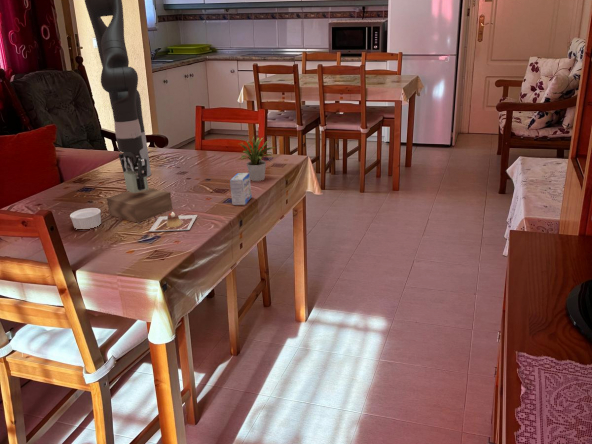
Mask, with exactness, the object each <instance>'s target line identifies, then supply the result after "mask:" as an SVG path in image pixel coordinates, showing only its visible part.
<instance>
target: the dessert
mask: <svg viewBox="0 0 592 444" xmlns="http://www.w3.org/2000/svg"><path fill="white" fill-rule="evenodd" d="M171 211H172V210H171ZM197 217H198V214H192V215H189V214H188V215H187V214H185V215H178V214H176V213H175V212H174V211H172V212H169V213H168V215H167V216H166V215H165V216H164V215H163V216H158V217H157V219H156V220H155V222H154V223H153V225H152V226H151V227H150V229H149V230H148V232H152V233H157V232H158V233H161V232H177V231H178V232H182V231H184V232H185V231H189V230H191V228H192V226H193V224H194V222H195V221H196V219H197ZM184 219H186V220H187V219H189V220H190V219H191V220H190V223H189V224H188V226H187V228H181V229H160V230H159V229H157V228H158V227H159V225H160V224H161V223H162V222H163V221H164V220H165V221H166V227H168V228H176V227H180V226H182V225H183V223H182V221H181V220H184Z"/></svg>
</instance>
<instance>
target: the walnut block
mask: <svg viewBox="0 0 592 444" xmlns="http://www.w3.org/2000/svg"><path fill="white" fill-rule="evenodd" d="M171 196H172V195H171V192H170V191H166V190H161V189H157V188H151V187H148V190H144V191H140V192H137V193H132V192H130V191H127V190H126V191H125V192H121V193H118V194H115V195H112V196H110V197H106V201H107V202H106V203H107V209H108V214H109V216H112V217H115V218H119V219H122V220H125V221H129V222H134V223H137V224H139V223H141V222H143V221H146V220H148V219H150V218H153V217H155V216H159V215H160V214H162V213H163V214H164V213H166V212H168V211H172V210H173V203H172V197H171Z"/></svg>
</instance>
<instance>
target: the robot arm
mask: <svg viewBox="0 0 592 444" xmlns="http://www.w3.org/2000/svg"><path fill="white" fill-rule="evenodd" d="M84 4H85V7H86V11H87V14H88V17H89V19H90V23H91V25H92V29H93V33H94V37H95V41H96V46H97V51H98V56H99V59H100V63H101V66H102V69H101V74H100V85H101V87H102V89H103V90H104V91H105V92H106V93H108V97H109V101H110V107H111V110H112V115H113V121H114V133H115V139H116V144H117V150H118V151H119V152H120V153H119V154H118V158H119V161H120V165H121V168H122V171H123V173H124V172H125V171H129V170H132V172H134V173H135V176H136V181H137V187H138V190H143V189H145V184H144V177H146V176H147V178H148V177H150V176H151V175H152V171H151V163H150V158H149V157H150V155H149V149H148V143H147V137H146V130H145V125H144V117H143V108H142V100H141V95H140V92H139V90H138V84H139V76H138V73H137V71H136V69H135V68H133V67H132V66H129V65H130V62H129V56H128V51H127V48H126V47H127V46H126V42H125V41H126V40H125V24H124V23H125V22H124V7H123V6H124V5H123V0H84ZM111 16H112V18H111V20H110V22H109V24H108V26H107V25H106V23H105V22H104V21H103V19H102V17H103V18H104V17H111ZM141 156H142V158H141ZM137 167H138V168H137ZM135 168H137V169H135ZM137 171H138V173H137ZM143 171H144V172H143Z"/></svg>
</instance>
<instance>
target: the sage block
mask: <svg viewBox="0 0 592 444" xmlns="http://www.w3.org/2000/svg"><path fill="white" fill-rule="evenodd" d="M143 172H144V171H143ZM137 173H138V171H137ZM123 176H124V183H125V189H126V192H127V191H130V192H132V193H137V192H140V191H144V190H148V188H149V183H148V177H147V176H146V177H144V184H145V189H143V190H138V187H137V181H136V176H135V173H134V172H132V170H129V171H125V172H123Z"/></svg>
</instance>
